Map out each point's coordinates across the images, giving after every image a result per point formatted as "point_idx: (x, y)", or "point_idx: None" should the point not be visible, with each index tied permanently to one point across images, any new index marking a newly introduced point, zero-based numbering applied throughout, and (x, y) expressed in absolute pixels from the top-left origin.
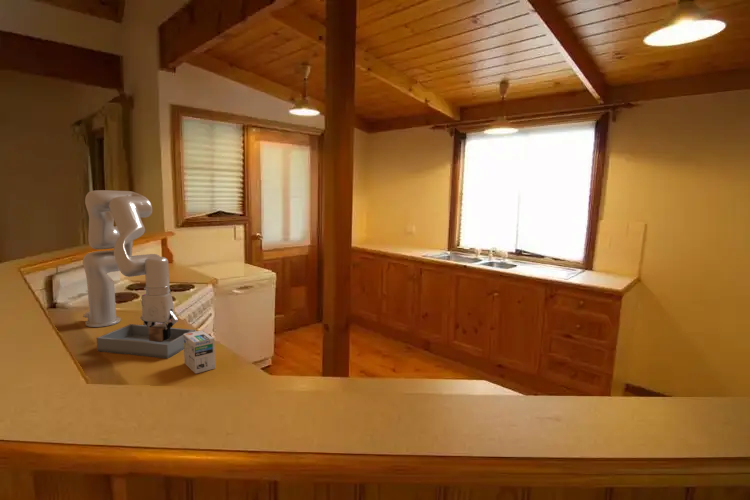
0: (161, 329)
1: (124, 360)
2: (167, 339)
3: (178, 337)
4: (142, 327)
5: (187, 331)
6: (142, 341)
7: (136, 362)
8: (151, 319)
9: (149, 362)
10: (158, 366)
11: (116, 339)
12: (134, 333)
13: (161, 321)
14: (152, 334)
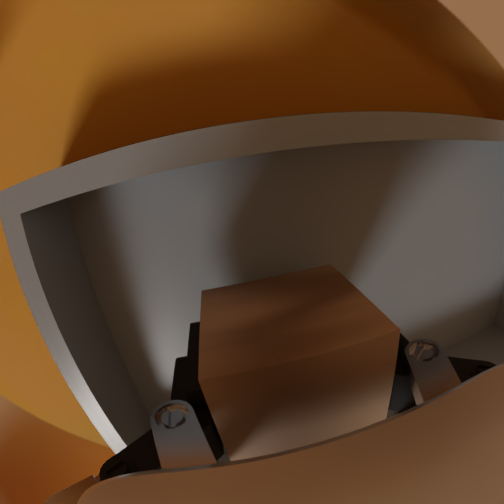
0: (200, 379)
1: (304, 39)
2: None
3: (76, 370)
4: None
5: None
6: (300, 142)
7: (198, 39)
8: (420, 446)
9: (114, 77)
10: (28, 76)
11: (500, 128)
12: (489, 333)
13: (160, 485)
14: (317, 303)
